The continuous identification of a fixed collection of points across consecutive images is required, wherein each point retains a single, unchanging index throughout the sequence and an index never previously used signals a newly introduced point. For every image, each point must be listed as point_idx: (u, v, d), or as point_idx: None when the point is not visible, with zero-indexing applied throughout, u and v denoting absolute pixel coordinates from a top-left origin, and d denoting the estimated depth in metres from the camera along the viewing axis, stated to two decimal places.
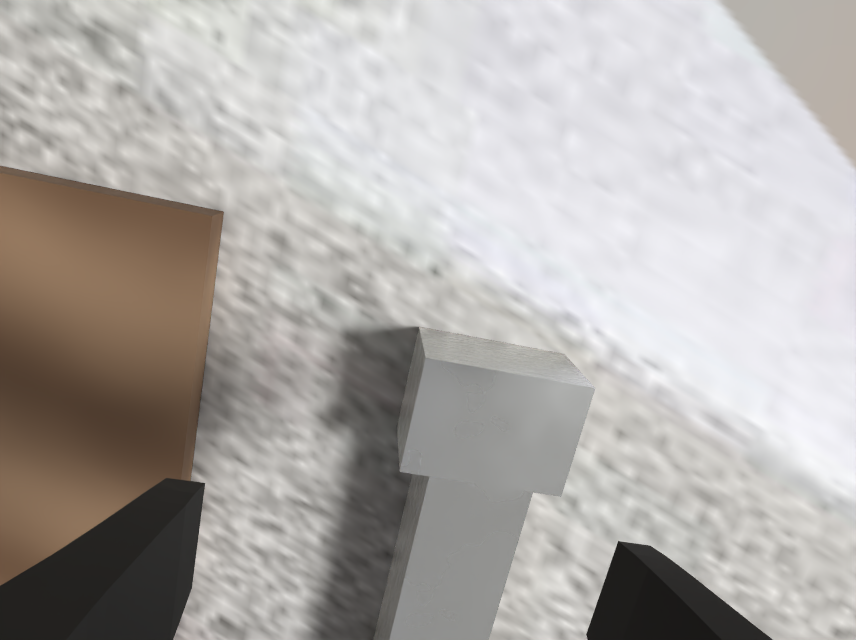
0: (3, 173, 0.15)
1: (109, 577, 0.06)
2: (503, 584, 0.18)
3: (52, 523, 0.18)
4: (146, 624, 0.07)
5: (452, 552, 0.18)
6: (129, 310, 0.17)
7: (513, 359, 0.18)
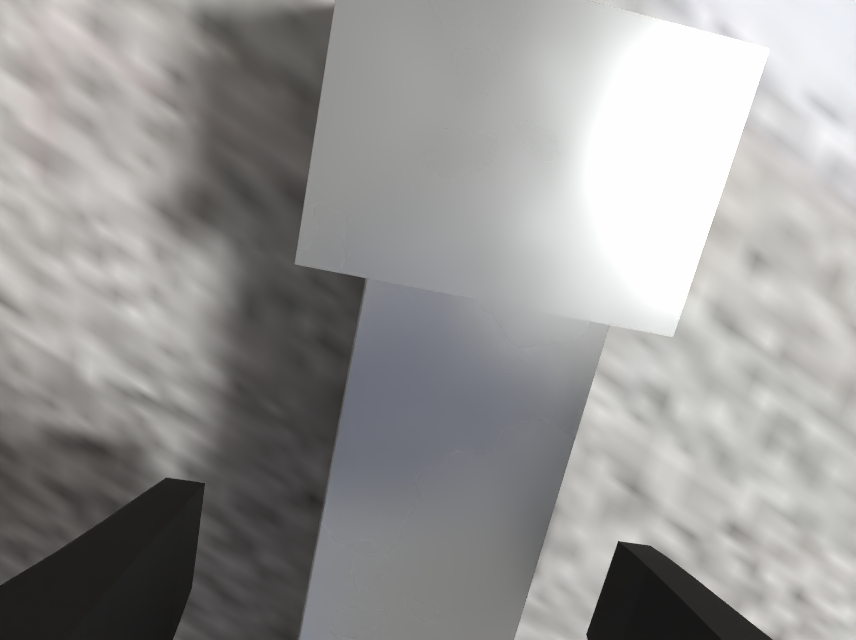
0: None
1: (109, 577, 0.06)
2: (539, 543, 0.08)
3: None
4: (146, 624, 0.07)
5: (425, 468, 0.08)
6: None
7: None
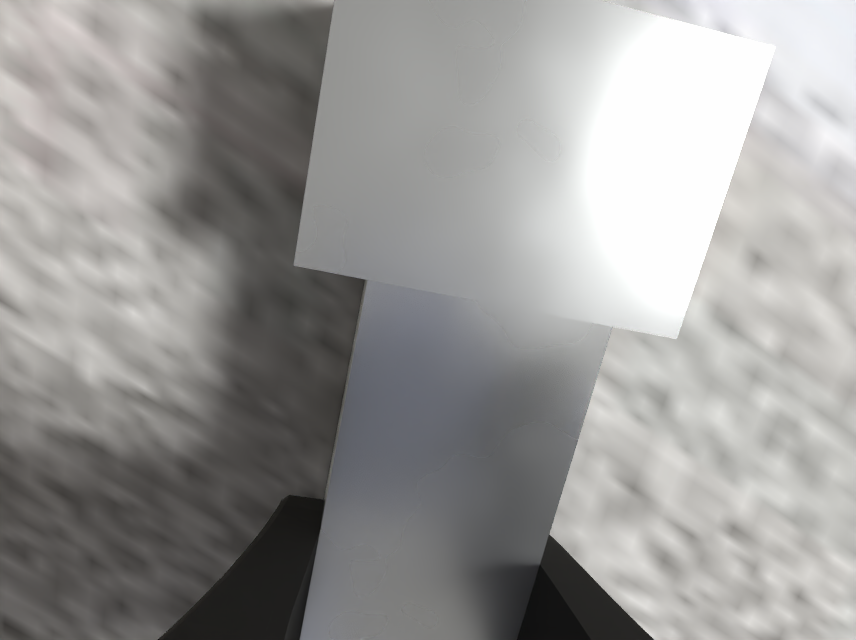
0: None
1: (287, 598, 0.07)
2: (541, 547, 0.08)
3: None
4: None
5: (426, 472, 0.08)
6: None
7: None
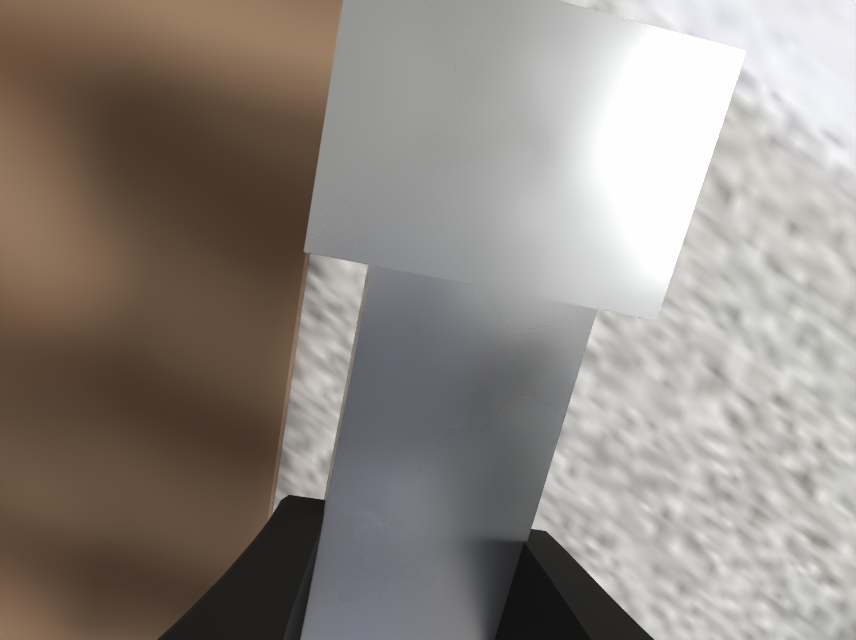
0: None
1: (286, 598, 0.07)
2: (531, 514, 0.09)
3: (154, 319, 0.16)
4: None
5: (425, 443, 0.08)
6: (252, 39, 0.14)
7: None
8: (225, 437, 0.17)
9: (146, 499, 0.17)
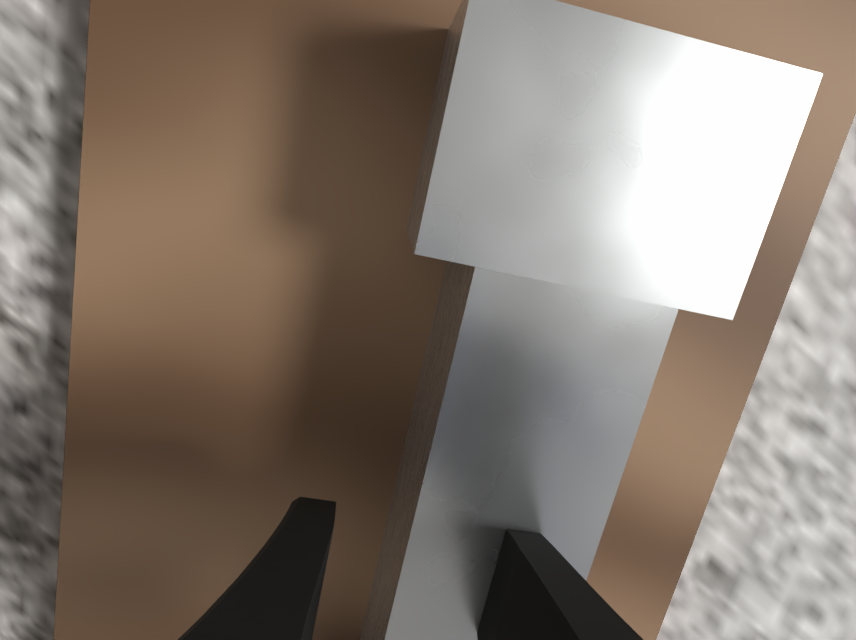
0: None
1: (302, 600, 0.07)
2: (610, 501, 0.10)
3: None
4: None
5: (516, 433, 0.09)
6: (775, 53, 0.11)
7: None
8: (627, 547, 0.13)
9: None
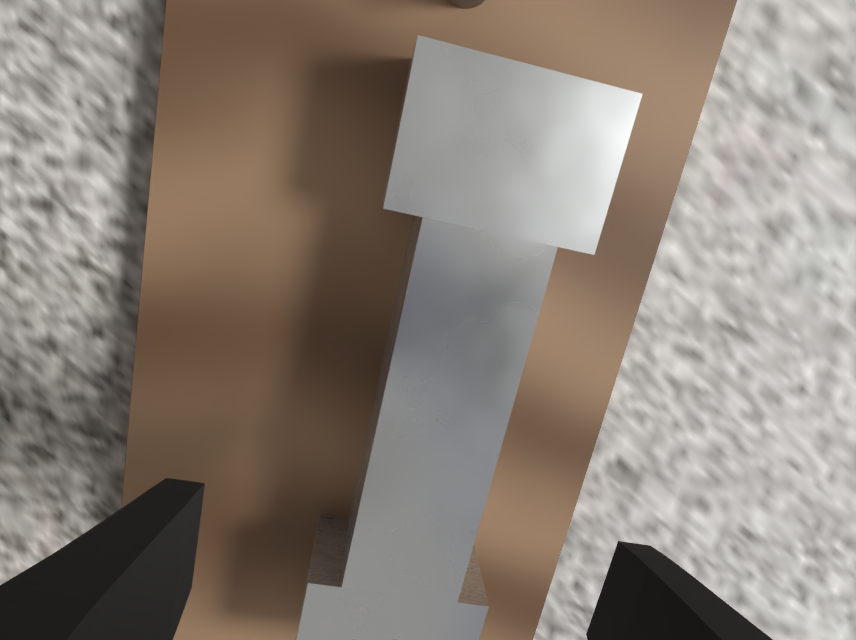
0: None
1: (109, 577, 0.06)
2: (517, 380, 0.14)
3: None
4: (146, 624, 0.07)
5: (452, 330, 0.14)
6: (639, 75, 0.15)
7: None
8: (548, 440, 0.18)
9: None
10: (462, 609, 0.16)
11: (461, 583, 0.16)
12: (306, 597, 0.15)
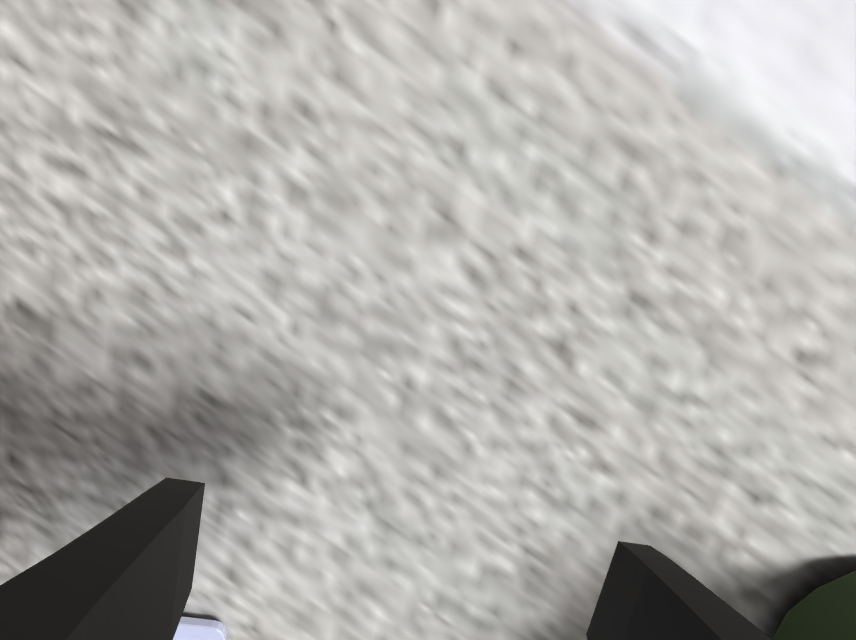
0: None
1: (109, 577, 0.06)
2: None
3: None
4: (146, 624, 0.07)
5: None
6: None
7: None
8: None
9: None
10: None
11: None
12: None
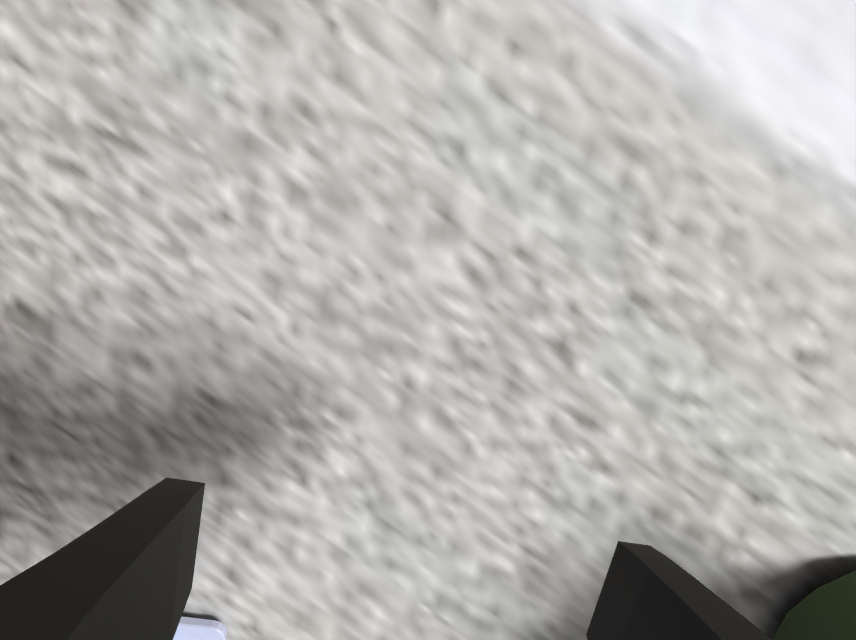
0: None
1: (109, 577, 0.06)
2: None
3: None
4: (146, 624, 0.07)
5: None
6: None
7: None
8: None
9: None
10: None
11: None
12: None
